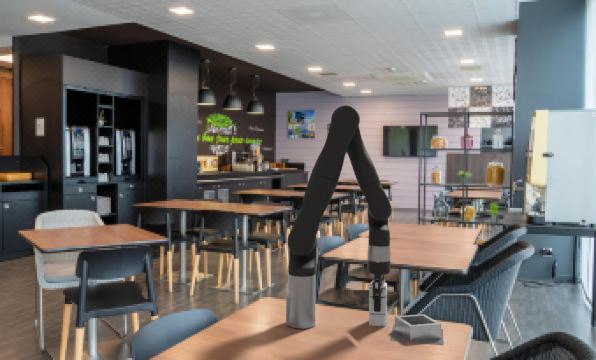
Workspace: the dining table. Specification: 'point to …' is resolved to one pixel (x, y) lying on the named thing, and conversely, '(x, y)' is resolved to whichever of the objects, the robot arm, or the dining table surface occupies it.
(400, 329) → the metal sleeve
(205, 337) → the dining table surface
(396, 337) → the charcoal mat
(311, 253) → the robot arm
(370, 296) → the syrup box
